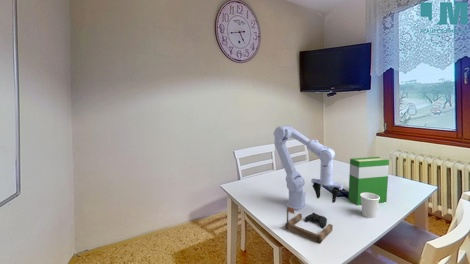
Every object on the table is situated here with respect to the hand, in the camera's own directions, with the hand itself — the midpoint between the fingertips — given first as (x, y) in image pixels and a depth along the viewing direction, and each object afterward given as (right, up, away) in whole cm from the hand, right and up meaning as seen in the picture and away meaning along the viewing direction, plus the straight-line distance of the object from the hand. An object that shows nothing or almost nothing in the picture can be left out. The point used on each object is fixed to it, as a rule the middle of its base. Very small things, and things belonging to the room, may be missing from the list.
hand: (326, 199), depth 113 cm
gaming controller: (-7, -9, -6) cm, 13 cm away
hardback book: (+29, -5, +15) cm, 33 cm away
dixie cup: (+21, -8, -1) cm, 22 cm away
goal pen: (-13, -10, -12) cm, 20 cm away
